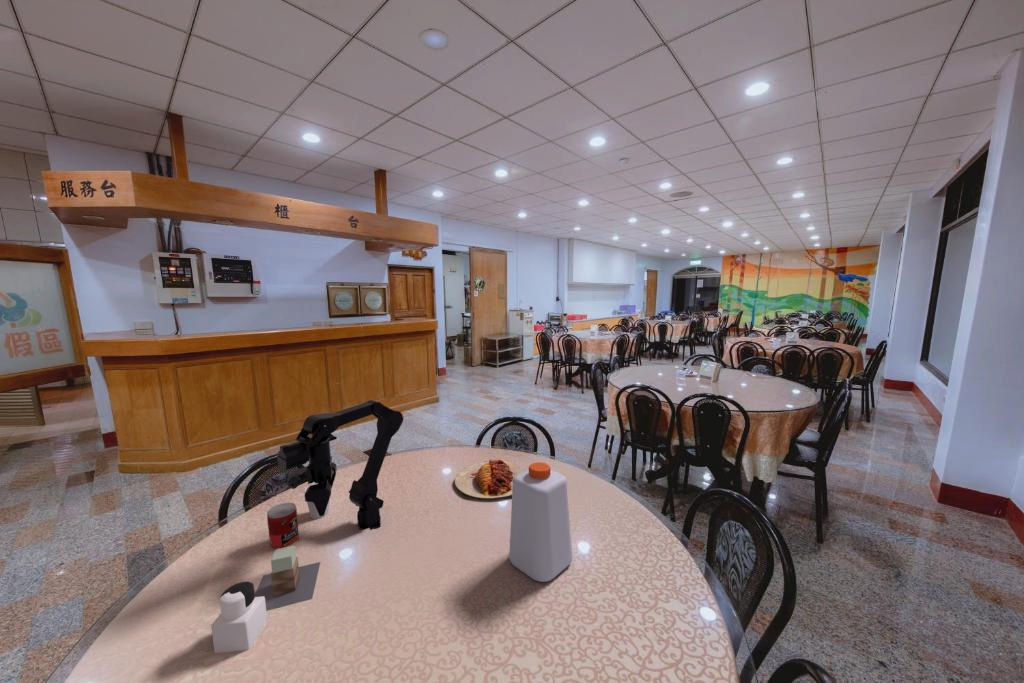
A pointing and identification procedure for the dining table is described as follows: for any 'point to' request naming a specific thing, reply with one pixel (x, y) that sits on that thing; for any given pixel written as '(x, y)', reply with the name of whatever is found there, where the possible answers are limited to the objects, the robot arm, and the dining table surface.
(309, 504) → the dixie cup
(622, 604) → the dining table surface
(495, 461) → the plate of pasta
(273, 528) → the canned food
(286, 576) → the tower top
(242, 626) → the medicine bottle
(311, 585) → the plate
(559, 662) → the dining table surface
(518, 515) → the plastic bottle
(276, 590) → the tower base
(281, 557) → the sage block
